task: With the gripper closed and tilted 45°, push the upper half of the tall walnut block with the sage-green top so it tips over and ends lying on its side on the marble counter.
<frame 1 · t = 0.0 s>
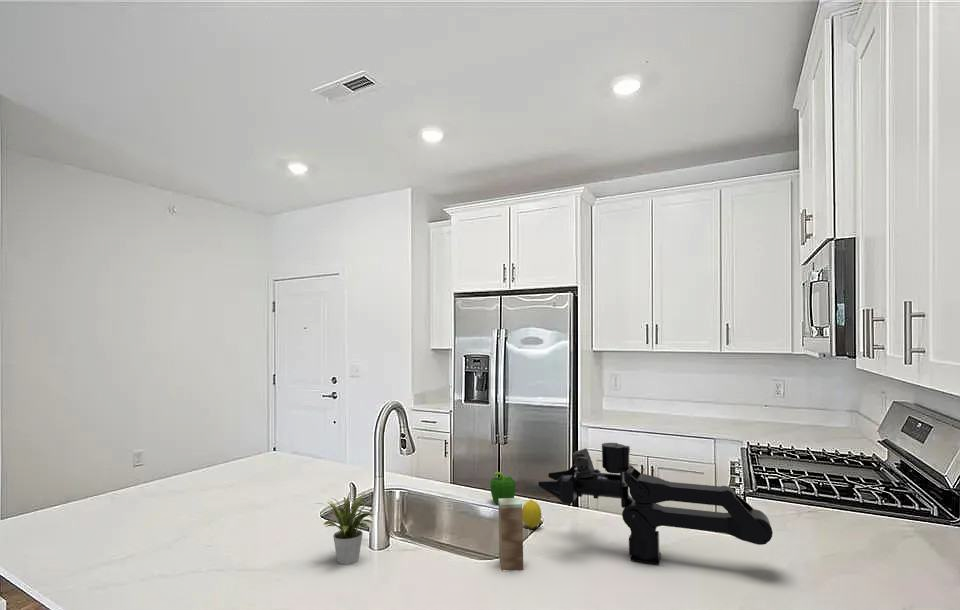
hand: (543, 479, 137), 17 cm above the worktop, tool horizontal, fingers open, 9 cm apart
bell pepper: (503, 503, 170), on the worktop
lemon: (531, 529, 146), on the worktop
walnut block: (511, 565, 122), on the worktop
house plant: (343, 562, 126), on the worktop
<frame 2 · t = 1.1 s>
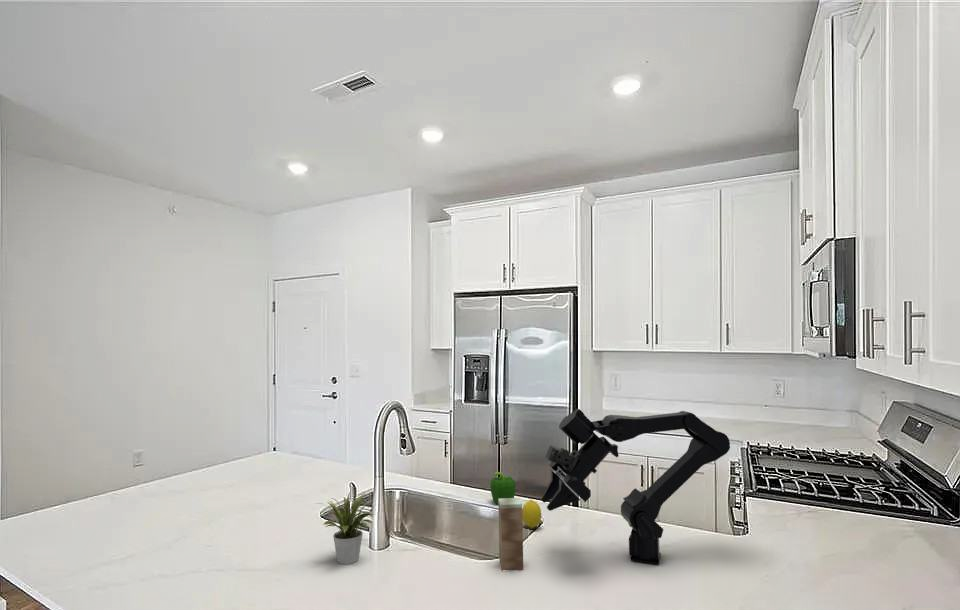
hand: (545, 505, 124), 14 cm above the worktop, tool tilted 45°, fingers open, 6 cm apart
nothing on the worktop moved.
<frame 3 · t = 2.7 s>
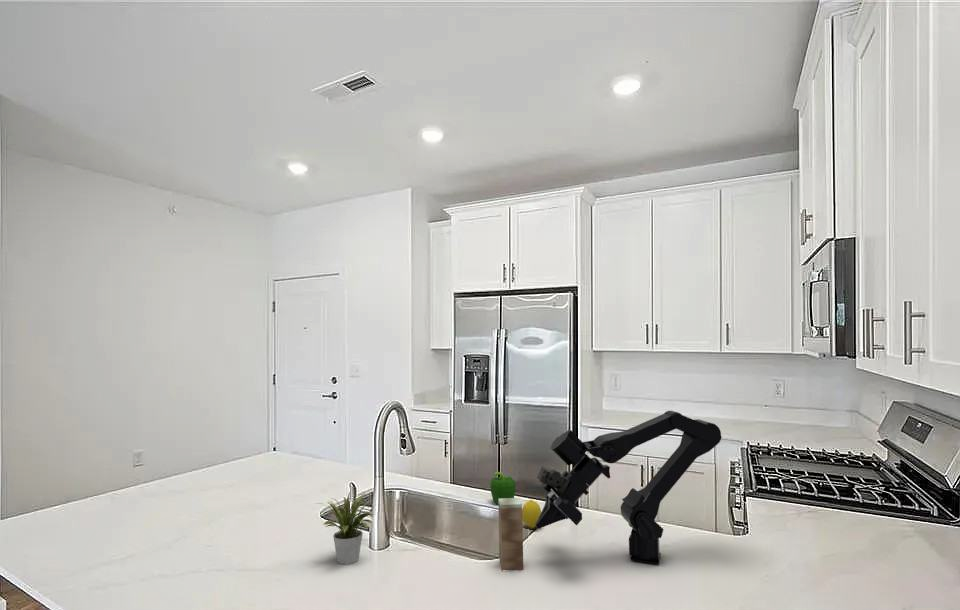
hand: (536, 526, 123), 9 cm above the worktop, tool tilted 45°, fingers closed
nothing on the worktop moved.
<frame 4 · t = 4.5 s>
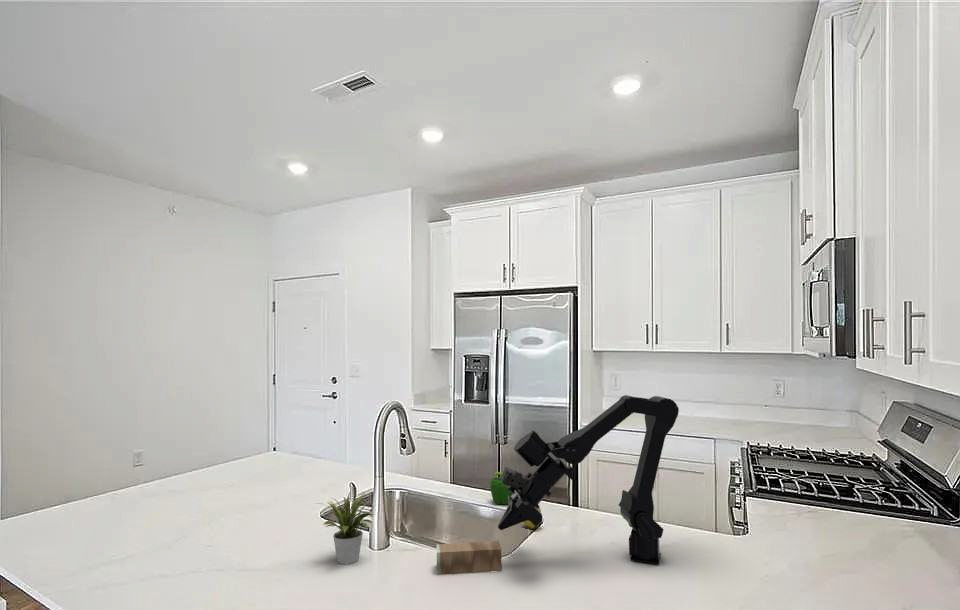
hand: (499, 528, 123), 9 cm above the worktop, tool tilted 45°, fingers closed
walnut block: (500, 555, 122), point 2 cm above the worktop, tilted 90°
everything else where it was.
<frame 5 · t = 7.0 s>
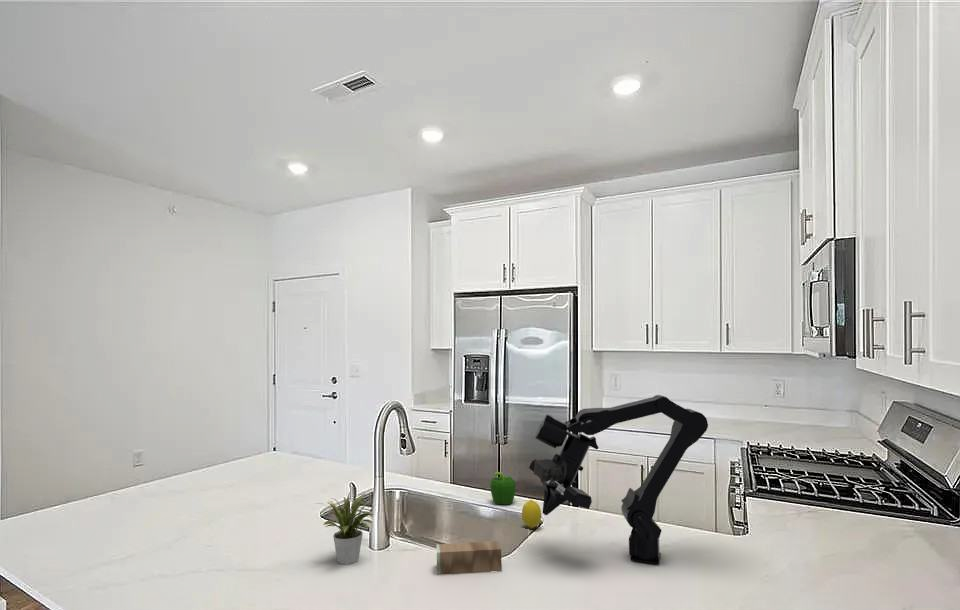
hand: (544, 514, 127), 10 cm above the worktop, tool tilted 25°, fingers closed
nothing on the worktop moved.
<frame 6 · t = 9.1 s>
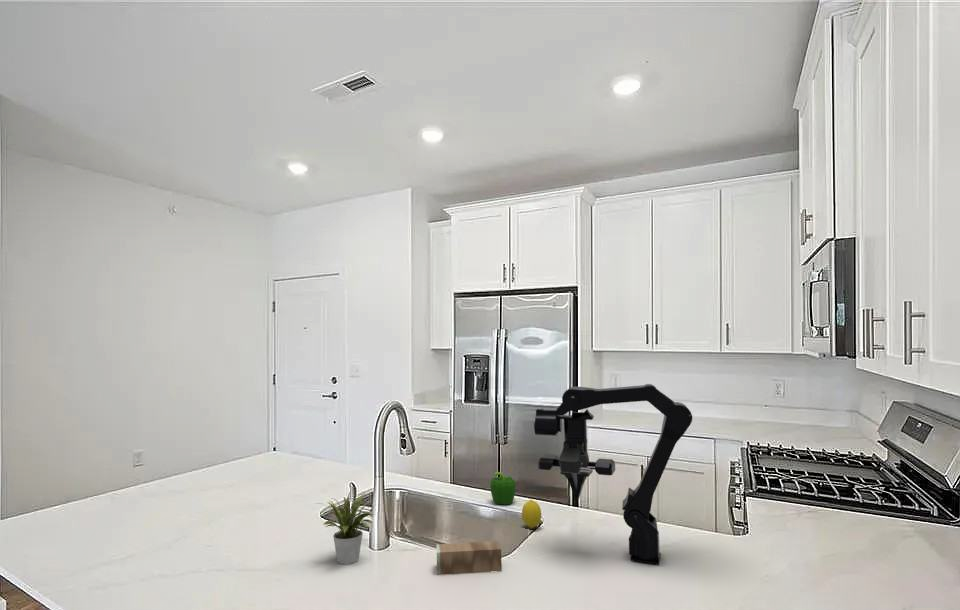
hand: (577, 498, 131), 13 cm above the worktop, tool pointing down, fingers closed
nothing on the worktop moved.
at the end: walnut block tilted 90°; walnut block inside the target area (2.3 cm from its centre), point 2.4 cm above the worktop; the gripper is holding nothing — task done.
